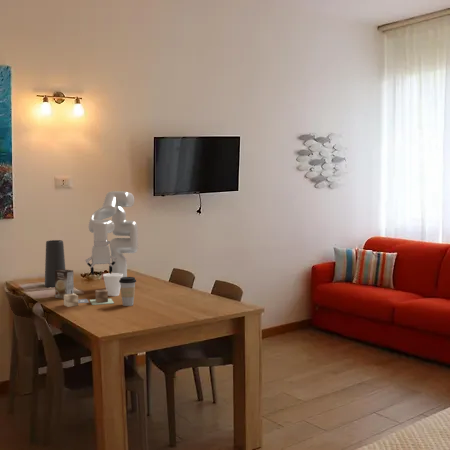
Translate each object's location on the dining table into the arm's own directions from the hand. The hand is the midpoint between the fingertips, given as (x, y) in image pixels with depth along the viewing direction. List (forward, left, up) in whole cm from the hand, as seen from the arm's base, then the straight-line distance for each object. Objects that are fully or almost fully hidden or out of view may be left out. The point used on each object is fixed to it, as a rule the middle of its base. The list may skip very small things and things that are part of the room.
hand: (101, 273), depth 340 cm
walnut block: (0, +1, -16) cm, 16 cm away
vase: (+22, -59, -16) cm, 66 cm away
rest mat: (0, +1, -16) cm, 16 cm away
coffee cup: (-13, +12, -16) cm, 24 cm away
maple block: (+17, +4, -16) cm, 24 cm away
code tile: (+12, -5, -16) cm, 21 cm away
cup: (-9, -17, -16) cm, 25 cm away
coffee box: (+19, -19, -16) cm, 32 cm away
